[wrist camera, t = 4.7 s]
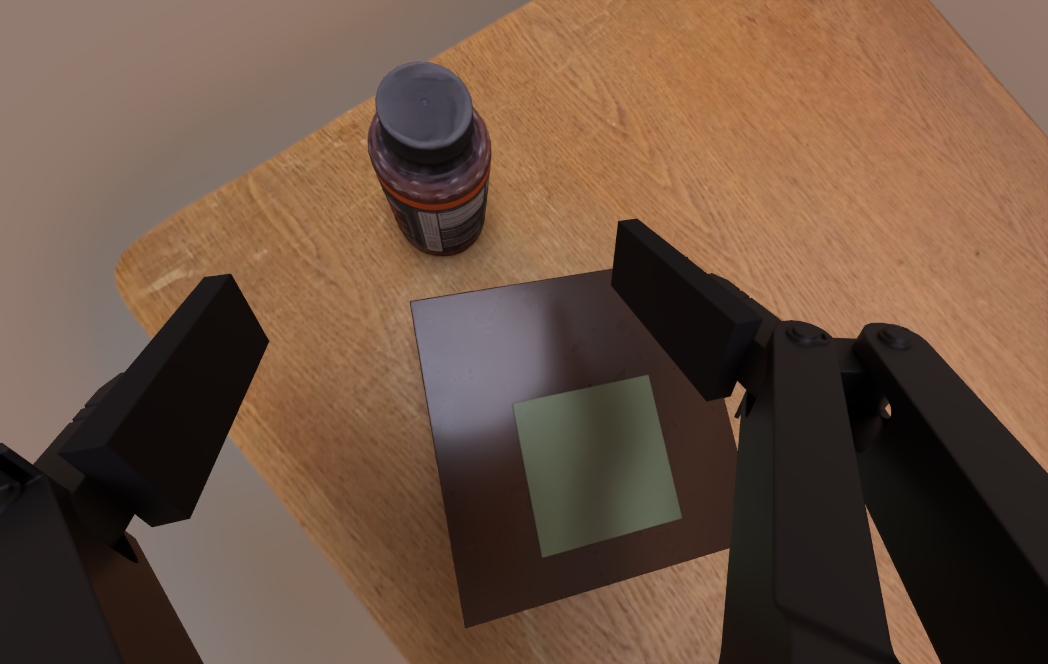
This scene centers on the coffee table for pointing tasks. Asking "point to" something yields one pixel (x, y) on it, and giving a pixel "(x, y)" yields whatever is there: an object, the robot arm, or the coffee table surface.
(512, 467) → the dark wooden box
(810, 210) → the coffee table surface
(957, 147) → the coffee table surface
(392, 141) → the supplement bottle
